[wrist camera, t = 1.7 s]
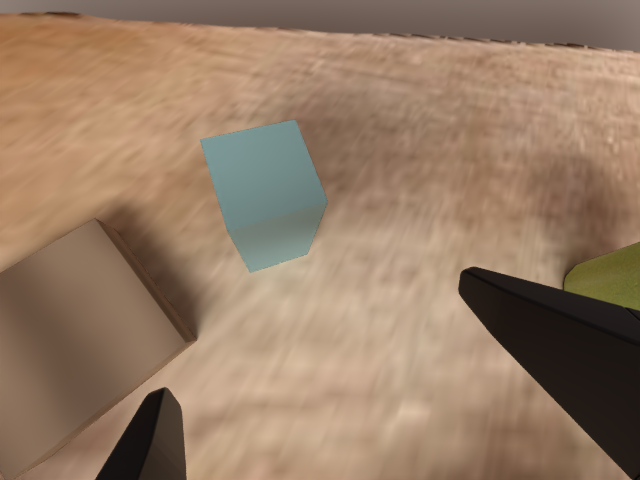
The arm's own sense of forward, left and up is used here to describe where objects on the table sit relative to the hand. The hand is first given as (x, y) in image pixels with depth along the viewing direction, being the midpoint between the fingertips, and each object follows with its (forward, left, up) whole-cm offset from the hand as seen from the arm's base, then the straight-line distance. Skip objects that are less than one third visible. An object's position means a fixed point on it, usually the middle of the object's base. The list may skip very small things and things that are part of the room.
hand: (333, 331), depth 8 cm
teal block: (+3, -7, -13) cm, 15 cm away
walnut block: (+14, +1, -13) cm, 20 cm away
